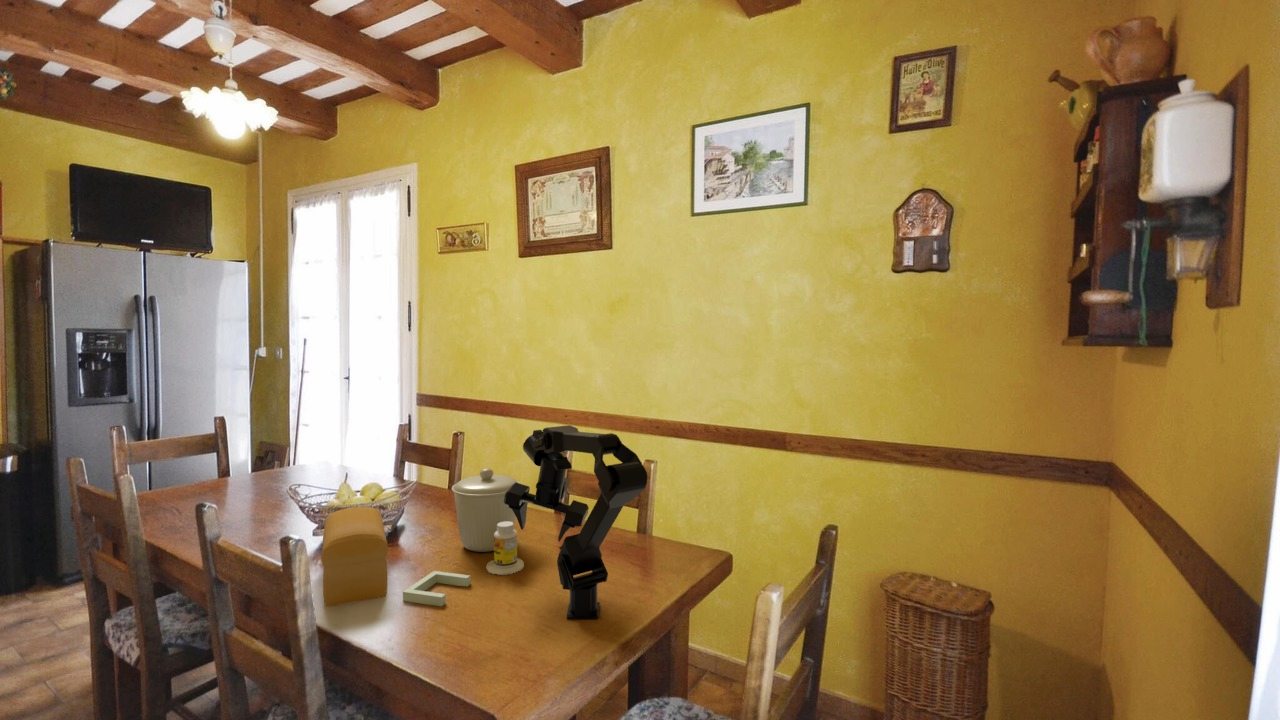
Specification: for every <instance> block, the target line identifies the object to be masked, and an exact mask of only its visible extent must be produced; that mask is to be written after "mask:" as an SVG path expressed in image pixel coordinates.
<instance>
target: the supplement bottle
mask: <svg viewBox="0 0 1280 720" xmlns="http://www.w3.org/2000/svg"><path fill="white" fill-rule="evenodd" d="M517 558H518V531H517V530H516V529H515V525H514V523H513V522H509V521H504V522H500V523H498V524H497V531H496V532H495V533H494V551H493V560H494V564H495V566H497V567H499V568H509V567H512V566H514V565H516V563H517Z"/></svg>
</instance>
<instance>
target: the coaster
mask: <svg viewBox="0 0 1280 720" xmlns="http://www.w3.org/2000/svg"><path fill="white" fill-rule="evenodd" d="M524 568H525V562H524V561H523V559H521V558H518V557H517V563H516V565H514V566H512V567H509V568H499V567H497V566H495V564H494V559H493V560H491V561H489V562H488V563H487V564H486V569H487V570H486V571H488V572H487V573H488V574H491V573H492V574H491V575H494V574H497V575H496V576H508V574H509V575H513V573H514V574H517V573H519V572H520V571H522V570H523V569H524ZM518 571H519V572H518ZM516 572H517V573H516Z"/></svg>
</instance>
